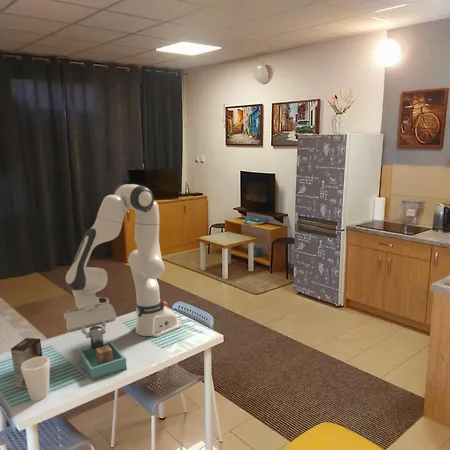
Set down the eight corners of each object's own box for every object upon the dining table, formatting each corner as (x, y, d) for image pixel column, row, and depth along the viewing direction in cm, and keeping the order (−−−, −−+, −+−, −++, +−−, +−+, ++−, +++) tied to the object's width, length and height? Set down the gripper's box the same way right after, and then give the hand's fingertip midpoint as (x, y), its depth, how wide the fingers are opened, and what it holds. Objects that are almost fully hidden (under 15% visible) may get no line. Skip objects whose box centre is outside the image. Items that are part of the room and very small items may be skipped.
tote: (112, 351, 184) (111, 341, 183) (126, 369, 169) (125, 358, 168) (79, 361, 176) (78, 350, 175) (91, 380, 161) (90, 369, 160)
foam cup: (51, 400, 150) (47, 367, 147) (23, 405, 147) (18, 372, 145) (54, 385, 159) (50, 354, 156) (28, 390, 156) (23, 358, 154)
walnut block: (109, 362, 172) (108, 344, 171) (113, 368, 168) (112, 349, 167) (97, 366, 170) (95, 348, 168) (101, 372, 166) (99, 353, 164)
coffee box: (31, 374, 167) (26, 337, 164) (45, 375, 166) (40, 338, 163) (15, 387, 159) (10, 348, 155) (30, 388, 157) (25, 349, 154)
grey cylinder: (101, 342, 178) (100, 325, 176) (105, 347, 173) (103, 329, 172) (89, 345, 175) (88, 328, 173) (93, 350, 171) (91, 332, 169)
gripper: (63, 308, 172) (71, 339, 166) (111, 297, 183) (121, 326, 177) (61, 314, 176) (69, 345, 170) (109, 303, 187) (118, 332, 181)
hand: (96, 335), depth 174 cm, fingers closed on grey cylinder, 5 cm apart
